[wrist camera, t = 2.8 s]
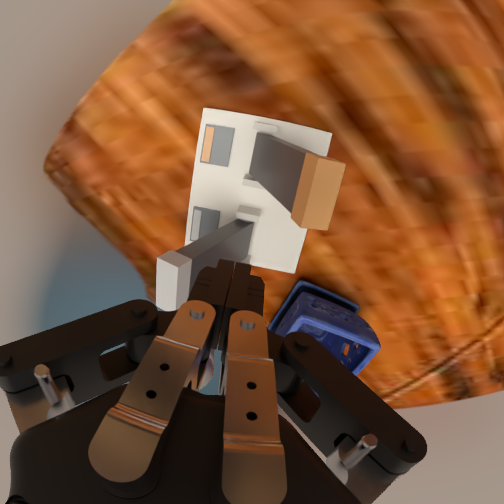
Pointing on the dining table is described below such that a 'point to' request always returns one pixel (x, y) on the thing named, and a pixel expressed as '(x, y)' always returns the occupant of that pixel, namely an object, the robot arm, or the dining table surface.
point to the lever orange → (297, 179)
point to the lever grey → (199, 261)
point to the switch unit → (246, 185)
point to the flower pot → (328, 324)
